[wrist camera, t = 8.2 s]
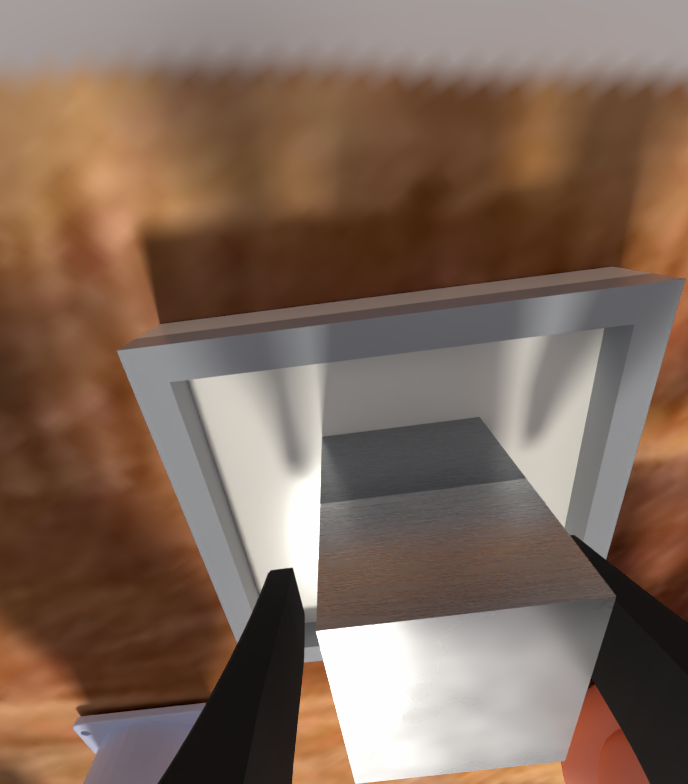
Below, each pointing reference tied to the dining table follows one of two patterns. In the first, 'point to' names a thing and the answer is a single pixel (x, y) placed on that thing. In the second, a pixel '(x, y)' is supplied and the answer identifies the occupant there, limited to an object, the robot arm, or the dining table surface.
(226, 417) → the shallow gray rimmed tray
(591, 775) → the teapot
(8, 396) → the dining table surface
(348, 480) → the block
